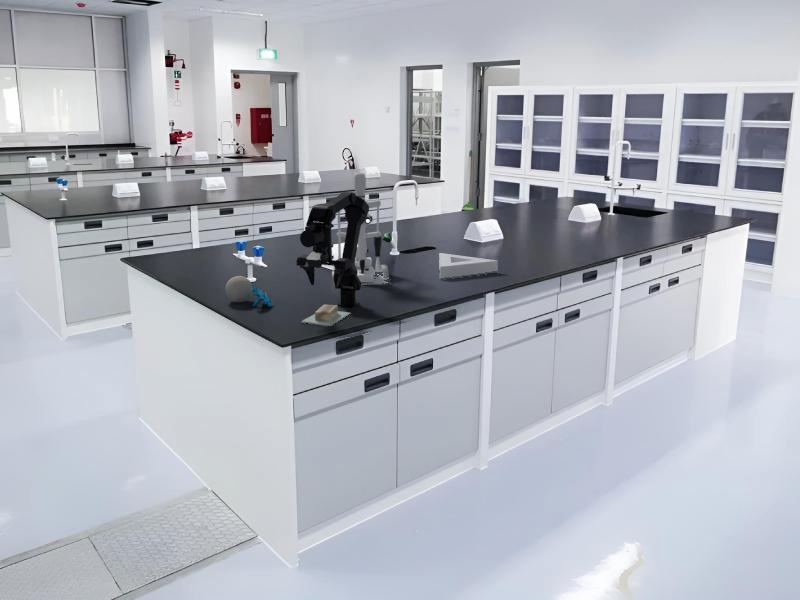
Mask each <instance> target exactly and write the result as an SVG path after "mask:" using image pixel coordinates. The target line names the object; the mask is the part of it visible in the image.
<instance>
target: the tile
mask: <svg viewBox="0 0 800 600" xmlns="http://www.w3.org/2000/svg"><path fill="white" fill-rule="evenodd" d="M338 309H339V306H338V305H337V304H326V303H325V304H323V305H322V306H320V307H319V308H318V309H317V310H316V311H314V314H315V321H330V320H331V319H332V318H333V317H335V316H336V315H337V314H338V311H339V310H338Z"/></svg>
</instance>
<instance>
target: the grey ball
mask: <svg viewBox="0 0 800 600" xmlns="http://www.w3.org/2000/svg"><path fill="white" fill-rule="evenodd" d="M252 287H253V283H252V281H250V279H249V278H247V277H245V276H243V275H236V276H233V277H231V278H230V279H229V280H227V282H226V284H225V294H226V296H227V298H228V299H229V300H230V301H233V302H234V303H244V302H246V301H248V300H249V299H250V298H251V297H252V295H253V293H254V292H253V291H252Z"/></svg>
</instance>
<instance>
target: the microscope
mask: <svg viewBox="0 0 800 600" xmlns="http://www.w3.org/2000/svg"><path fill="white" fill-rule="evenodd" d="M353 179H354V180H353V181H354V183H353V187H354V191H355V194H356V195H357V196H358V197H360V198H362V199H363V200H365V202H366V203H367V204H368V205H369V209H375V208H376V231H373V232H372V231H371V232H366V228H367V226H370V224H371V223H372V222H373V216H371V215H370V214H369V213H368V214H367V218H366V220H365V221H364V222H363V224H362V225H361V227H360V233H359V239H358V245H357V251H356V258H355V266H356V269H357V271H358V272H357V277H358V278H359V280H360V281H361V285H367V284H382V283H384V284H385V283H388V282H386V281H384V280H387V279H389V278H390V275H389V268H388V266H387V264H381V262H380V257H381V249H382V232H381V231H380V207H381V205H382V204H381V200H374V201H366V199H365V198H366V195H365V192H366V174H365V173H363V172H355V173H354V176H353ZM336 237H337V239H338V240H337V242H338V243H337V245H338V247H337V248H338V249H337V250H338V259H340V258H342V253H341V252H342V250H341V249H342V241H341V239H342V238H345V237H346V232H343V231H341V211H339V212H338V213H337V232H336ZM371 238H373V247H374V256H375V257H376V259H375V260H376V261H375V267H373V266H372V264H373V260H372V257H370V256H369V257H367V254H368V253H369V249H368V248H367V247H368V246H367V240H366V239H371ZM338 259H337V260H338ZM332 267H333V270H332V271H331V277H333V274H334V270H335V267H334V266H332ZM375 272H383V273H382V274H383V276H381V275H379V274H377V275H379V276H378V277H375V276H374V275H375ZM374 278H376V279H374ZM333 287H334V288H335V285H334V284H333Z"/></svg>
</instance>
